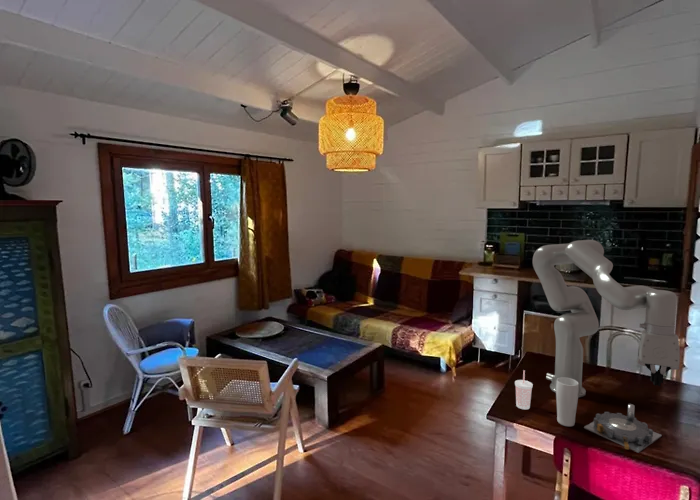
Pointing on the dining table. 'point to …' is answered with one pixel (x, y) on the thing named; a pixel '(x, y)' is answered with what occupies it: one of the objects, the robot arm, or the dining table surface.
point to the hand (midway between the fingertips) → (656, 384)
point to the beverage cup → (523, 393)
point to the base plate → (627, 445)
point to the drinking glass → (566, 400)
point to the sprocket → (623, 426)
